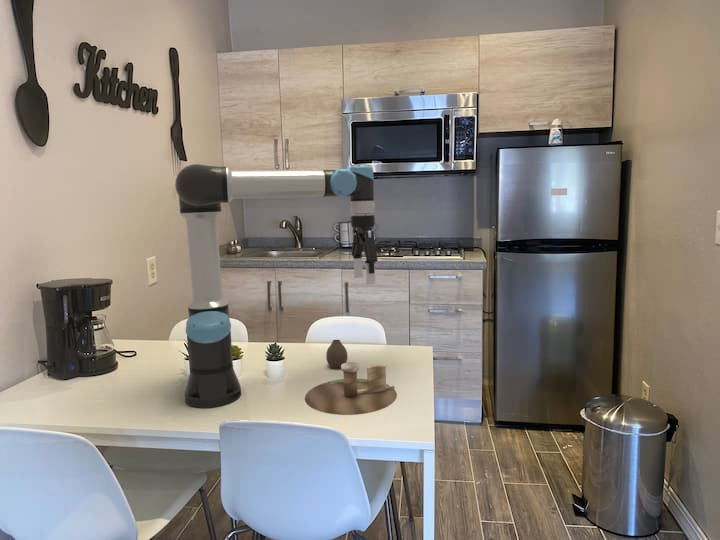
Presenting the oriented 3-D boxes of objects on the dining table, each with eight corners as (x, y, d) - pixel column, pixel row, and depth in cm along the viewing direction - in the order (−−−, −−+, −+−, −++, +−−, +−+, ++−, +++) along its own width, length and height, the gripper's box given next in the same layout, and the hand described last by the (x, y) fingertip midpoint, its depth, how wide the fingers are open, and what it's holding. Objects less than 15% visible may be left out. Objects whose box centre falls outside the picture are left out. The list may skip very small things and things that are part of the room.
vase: (347, 369, 161) (346, 343, 160) (325, 370, 161) (324, 343, 160) (348, 362, 168) (347, 337, 166) (327, 363, 168) (326, 337, 166)
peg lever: (344, 399, 134) (343, 369, 132) (340, 392, 138) (339, 363, 137) (397, 391, 138) (396, 362, 137) (391, 385, 142) (390, 357, 141)
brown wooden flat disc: (314, 425, 121) (314, 420, 121) (298, 389, 145) (297, 384, 145) (411, 410, 128) (410, 405, 128) (379, 378, 152) (379, 374, 152)
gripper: (386, 215, 149) (388, 285, 152) (362, 213, 173) (364, 274, 176) (362, 216, 147) (364, 287, 150) (341, 214, 171) (343, 276, 174)
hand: (364, 280), depth 163 cm, fingers open, 13 cm apart
